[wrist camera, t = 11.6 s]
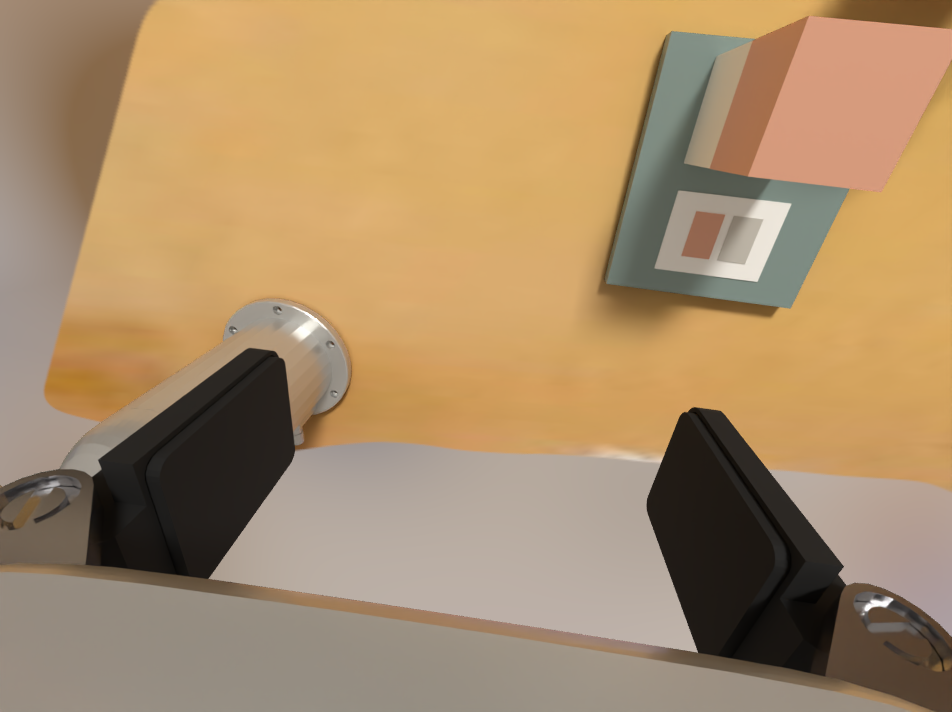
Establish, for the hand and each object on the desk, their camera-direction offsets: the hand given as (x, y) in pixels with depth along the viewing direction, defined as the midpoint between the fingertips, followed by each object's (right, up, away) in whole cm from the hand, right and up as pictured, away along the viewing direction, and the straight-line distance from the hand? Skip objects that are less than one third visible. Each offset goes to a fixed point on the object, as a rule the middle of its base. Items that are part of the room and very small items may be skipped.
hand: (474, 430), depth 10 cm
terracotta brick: (+17, +15, +12) cm, 26 cm away
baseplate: (+18, +14, +20) cm, 30 cm away
